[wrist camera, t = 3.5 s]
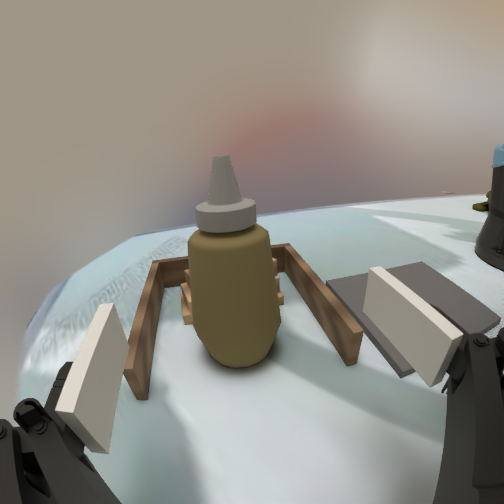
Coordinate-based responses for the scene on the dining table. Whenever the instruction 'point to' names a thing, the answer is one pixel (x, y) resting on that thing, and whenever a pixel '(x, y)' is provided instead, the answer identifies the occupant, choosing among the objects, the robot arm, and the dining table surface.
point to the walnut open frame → (172, 274)
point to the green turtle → (483, 204)
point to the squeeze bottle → (232, 274)
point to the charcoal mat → (425, 286)
